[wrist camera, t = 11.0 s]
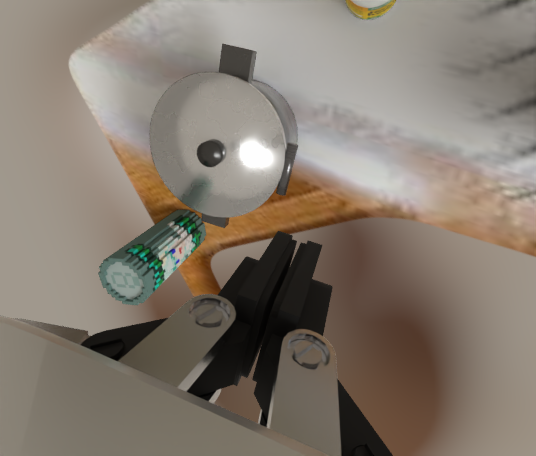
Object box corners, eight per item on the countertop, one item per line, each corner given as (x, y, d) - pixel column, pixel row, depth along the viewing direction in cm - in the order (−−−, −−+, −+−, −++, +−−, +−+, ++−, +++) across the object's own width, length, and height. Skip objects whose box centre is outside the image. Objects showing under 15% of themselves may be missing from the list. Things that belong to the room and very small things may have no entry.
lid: (311, 94, 27) (308, 95, 25) (277, 231, 34) (272, 241, 32) (157, 57, 29) (142, 55, 27) (152, 194, 35) (139, 202, 33)
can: (208, 246, 49) (152, 307, 35) (173, 245, 50) (108, 302, 37) (201, 210, 46) (139, 260, 33) (165, 209, 48) (92, 257, 35)
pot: (316, 67, 35) (304, 62, 27) (279, 214, 43) (262, 244, 35) (209, 42, 37) (168, 30, 29) (194, 189, 45) (159, 211, 37)
